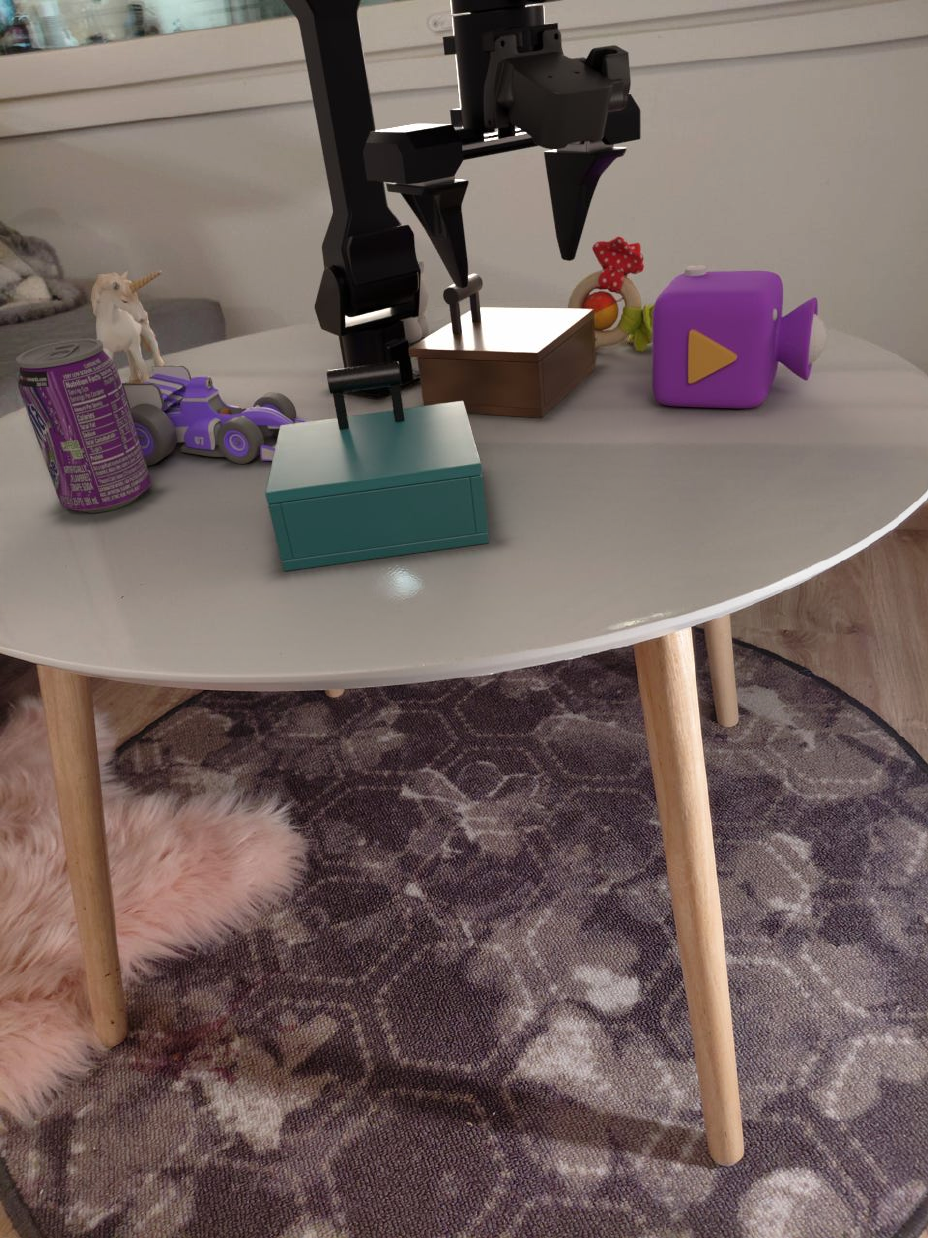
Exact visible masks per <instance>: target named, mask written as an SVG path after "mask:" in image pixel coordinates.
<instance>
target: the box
mask: <svg viewBox="0 0 928 1238" xmlns="http://www.w3.org/2000/svg"><path fill="white" fill-rule="evenodd" d="M596 359H597V355H596V350H595V325H594V318H593V319H592V320H590V321H589V322H588V323H587V324H585V325H584V326H583V327H582V328H580V329H579V330H578V331H577V332H575V333H574V334H573V335H572V336H570V337H569V338H568V339H566V340H565V341H564V342H563V343H561V344H560V345H559V346H558V347H556V348H555V349H554V350H553V351H551V352H550V353H549V354H548V355H546V356H545V357H544V358H543V359H541V360H540V361H539V362H520V361H494V360H468V359H442V358H417V365H418V374H420V382H419V383H420V388H421V396H422V402H423V406H428V405H436V404H443V403H450V402H458V401H464V405H465V408H466V412H467V414H473V415H474V414H476V415H491V416H492V415H493V416H506V417H520V418H521V417H522V418H536V419H542V418H544V417H545V416H546V415H547V414H548V413H549V412H550V411H552V410H553V408H554V407H556V406H557V405H558V404H559V403H560V402H561V401H562V400H563V399H564V398H566V397H567V396H568V395H569V394H570V393H571V392H572V391H573V390H574V389H575V388H576V387H577V386H579V384H581V383H582V382H583V381H584V380H585V379H586V378H587V377H589V375H590V374H592V372H594V371H595V370H596V369H597V361H596Z"/></svg>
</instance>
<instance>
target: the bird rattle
mask: <svg viewBox="0 0 928 1238" xmlns="http://www.w3.org/2000/svg"><path fill="white" fill-rule="evenodd" d="M641 249H642V247H641V244H640V243H639V242H634V243H633V242H632V243H628V241H627V240H626V239H624V238H623V237H621V236H617V237H614V238H613V239H611V240H609V241H605V240H600V241H596V242H595V243H594V244H593V245H592V252H593V254H594V255H595V258H596V259H597V261H598V263H599V265H600V266H601V268H602V269H601V270H596V271H593V272H591V273H589V274H587V275H586V276H584V277H583V278H582V279H581V280H579V281H578V282H577V284H576V285H575V286H574V288H573V289H572V292H571V293H570V295H569V299H568V304H567V309H594V325H595V351H596V350H598V349H599V348H601V347H610V346H613V345H617V344H619V343H620V342H623V341H624V340H625V339H627V340H626V343H627V344H631V343H632V342H633V344H634V345H633V346H634V349H635V350H636V351H637V352H641V353H644V351H646V349H647V347H648V345H649V344H652V326H653V309H654V305H655V302H654V303H652V304H649V305H647V304H644V305H642V299H641V295H640V293H639V290H638V289H637V286H636V285H635V283H634V282H633V281H632V280H631V279H630V278H629V277H628V275H630V274H633V275H637V274H639V273H642V272H643V271H644V267H645V265H644V255H643V253H641V251H642V250H641ZM594 290H598V291H594ZM606 290H608V291H606ZM593 291H594V292H593ZM612 293H615V294H619V295H620V296H621V298H618V299H617V300H616V298H615V296H614V295H612ZM622 301H623V303H624V307H622V313H621V314H620V320H619V321H618V323H617V324H616V326H615V327H613V325H614V324H615V322H616V321H617V319H618V316H619V304H618V302H622ZM642 306H643V308H642ZM612 327H613V328H612ZM610 328H612V329H610Z"/></svg>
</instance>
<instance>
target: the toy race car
mask: <svg viewBox="0 0 928 1238" xmlns="http://www.w3.org/2000/svg"><path fill="white" fill-rule="evenodd" d="M151 370H152V375H150V376H149V380H147V381H145V382H144V381H142V383H130V382H121V383H122V387H123V390H124V393H125V397H126V400H127V403H128V406H129V410H130V413H131V416H132V420H133V423H134V426H135V429H136V433H137V436H138V439H139V442H140V446H141V449H142V452H143V456H144V459H145V462H146V465H147V467H148V466H153V465H156V464H157V463H159V462H161V460H163V459H165V458H166V457H168V456H169V455H170V454H171V453H173V452H174V450H175V448H176V446H177V443H183V445H181V447H180V452H182V453H184V454H185V453H186V454H192V455H198V456H205V457H210V458H211V457H212V458H213V457H214V458H225V459H226V458H227V459H228V460H229V461H230V462H233V463H235V464H239V465H243V464H244V465H245V464H249V463H250V462H252V461H253V460H254V459H255V458H257V457H258V456H259V455H260V460H261V461H263V462H272V461H273V456H274V452H275V447H276V444H274V445H272V446H269V445H266V444H265V442H264V437H275V438H278V434H279V430H280V426H281V425H288V424H295V423H302V422H310V421H311V420H307V419H304V418H300V417H297V410H296V407H295V405H294V403H293V402H292V401H291V399H290V398H289V397H288V396H286V395H285V394H283V393H282V392H278V391H270V392H267V393H264V394H263V395H262V396H260V397H259V398H257V400H256V401H255V402H254V403H253V405H252V407H249V408H245V407H243V408H242V407H239V406H237V405H236V406H235V405H233V404H227V403H226V402H224V401H223V399H222V397H221V396H220V393H219V390H218V389H217V388H215V387H214V385H213V380H212V378H211V377H210V376H191V373H190V370H189V369H188V368H187V367H186V366H184V365H164V366H155V365H152V366H151Z"/></svg>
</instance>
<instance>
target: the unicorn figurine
mask: <svg viewBox="0 0 928 1238" xmlns="http://www.w3.org/2000/svg"><path fill="white" fill-rule="evenodd" d="M162 273H163V270H161V269H160V270H157V271H154V272H153V273H150V274H149V275H148V274H147V275H146V276H144V277H142V278H140V279H138V280H137V281H134V282H132V281H131V280H130V279H127V278H128V274H129V270H127V271H125V272H124V273H122V275H120V274H118V273H117V272H116V271H115V272H109V273H106V274H105V273H99V274H98V275H97V279H96V280H95V282H94V284H93V287H92V288H91V293H90V302H91V306H92V308H93V309H92V313H93V315H94V316H95V317H96V318H95V319H96V321H95V333H96V339H97V340H100V341H102V343H103V347H104V348H103V350H104V352H105V353H106V354H107V355H108V356H109V357H110V358H111V360H112V361H113V362H114V354H115V353H119V352H124V353H125V355H126V358H127V360H128V368H129V371H130V375H129V383H143V382H145V381H147V380H149V377H150V375H149V372H148V369H147V363H146V361H145V359H144V358H143V354H142V348H143V349H144V350H146V352H147V353H148V354H149V355H152V358H153V366H165V362H164V360H163V358H162V356H161V351H160V348H159V344H158V341H157V340H156V339H157V336H156V334H155V333H154V331H153V330H152V328H151V327H150V321H149V316H148V315H149V314H148V312H147V311H146V310H145V309H144V306H143V304H142V302H141V300H139V295H138V293H137V291H139V290H141V288H144V286H146V285H147V284H149V283H150V282H151V281H153V280H155V279H156V278H158V277H159V276H160V275H161V274H162ZM141 347H142V348H141ZM140 373H141V375H142V377H141V375H140ZM142 379H143V380H142Z"/></svg>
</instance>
